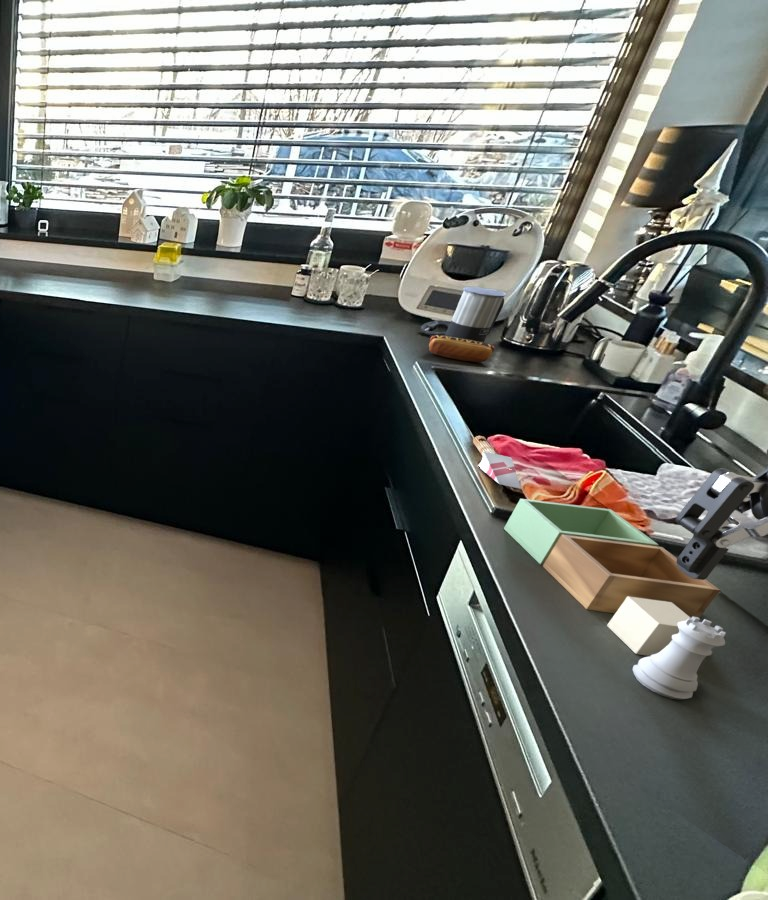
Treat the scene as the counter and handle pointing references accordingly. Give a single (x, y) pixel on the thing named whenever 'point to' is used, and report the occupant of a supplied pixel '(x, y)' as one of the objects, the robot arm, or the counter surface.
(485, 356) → the hot dog
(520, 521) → the sage bin
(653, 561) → the oak bin
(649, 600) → the cream block
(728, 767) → the counter surface
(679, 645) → the rook chess piece
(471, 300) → the milk frother
